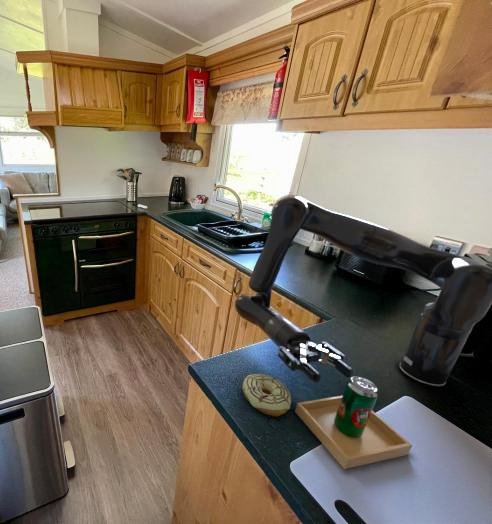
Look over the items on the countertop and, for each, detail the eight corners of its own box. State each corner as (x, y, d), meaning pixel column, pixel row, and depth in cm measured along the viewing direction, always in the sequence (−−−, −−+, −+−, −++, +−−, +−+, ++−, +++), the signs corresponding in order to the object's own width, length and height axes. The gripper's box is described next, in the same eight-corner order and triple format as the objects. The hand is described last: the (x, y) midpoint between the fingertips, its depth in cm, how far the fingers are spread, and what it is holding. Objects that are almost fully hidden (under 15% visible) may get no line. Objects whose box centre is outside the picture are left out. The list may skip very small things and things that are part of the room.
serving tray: (349, 402, 69) (352, 393, 68) (408, 454, 57) (412, 445, 56) (294, 411, 66) (297, 402, 65) (344, 469, 54) (348, 459, 53)
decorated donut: (250, 418, 63) (253, 405, 62) (235, 382, 74) (237, 370, 72) (297, 419, 64) (301, 406, 62) (276, 383, 74) (279, 371, 72)
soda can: (334, 414, 64) (350, 371, 60) (362, 427, 61) (380, 383, 57) (331, 429, 61) (347, 384, 57) (360, 444, 58) (379, 398, 54)
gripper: (265, 325, 76) (311, 366, 61) (311, 320, 79) (366, 359, 64) (260, 349, 78) (303, 394, 63) (304, 343, 81) (356, 385, 66)
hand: (335, 376), depth 64 cm, fingers open, 8 cm apart
